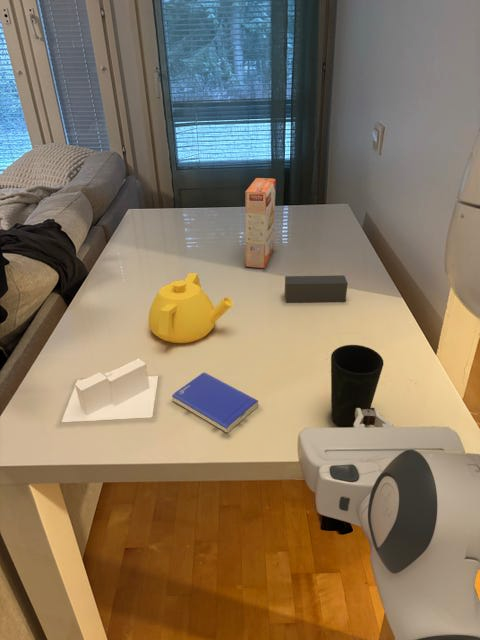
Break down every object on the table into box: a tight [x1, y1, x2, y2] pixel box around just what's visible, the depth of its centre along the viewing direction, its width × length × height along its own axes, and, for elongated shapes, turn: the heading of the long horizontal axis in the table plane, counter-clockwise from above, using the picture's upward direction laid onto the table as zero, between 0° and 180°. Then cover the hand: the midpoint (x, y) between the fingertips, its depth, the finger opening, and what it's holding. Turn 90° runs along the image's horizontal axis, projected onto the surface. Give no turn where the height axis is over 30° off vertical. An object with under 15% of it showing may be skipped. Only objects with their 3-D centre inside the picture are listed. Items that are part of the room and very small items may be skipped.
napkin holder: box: [61, 358, 159, 423], centre depth 80 cm, size 15×11×6 cm
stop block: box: [284, 275, 349, 304], centre depth 110 cm, size 14×4×5 cm, turn 90°
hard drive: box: [171, 372, 259, 434], centre depth 79 cm, size 2×8×12 cm
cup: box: [330, 344, 384, 428], centre depth 73 cm, size 8×8×12 cm
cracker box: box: [244, 177, 277, 269], centre depth 126 cm, size 14×6×21 cm, turn 167°
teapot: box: [148, 272, 234, 344], centre depth 97 cm, size 20×18×11 cm
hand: (365, 411), depth 65 cm, fingers closed
